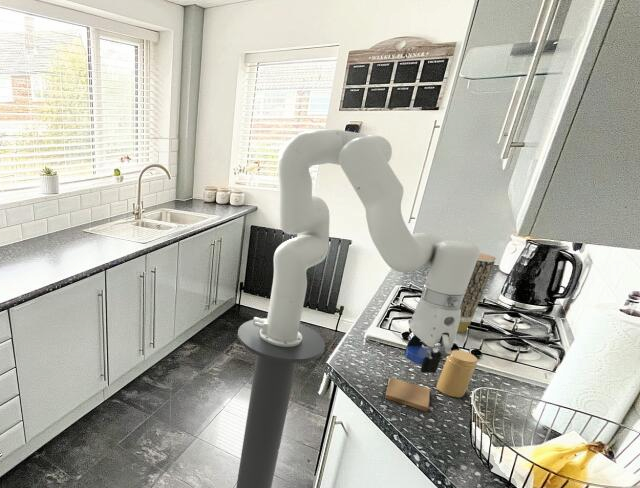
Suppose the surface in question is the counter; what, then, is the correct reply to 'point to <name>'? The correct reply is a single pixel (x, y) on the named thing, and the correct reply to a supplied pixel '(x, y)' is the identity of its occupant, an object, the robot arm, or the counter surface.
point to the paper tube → (475, 290)
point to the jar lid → (416, 354)
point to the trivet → (408, 394)
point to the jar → (457, 373)
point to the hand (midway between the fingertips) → (419, 362)
